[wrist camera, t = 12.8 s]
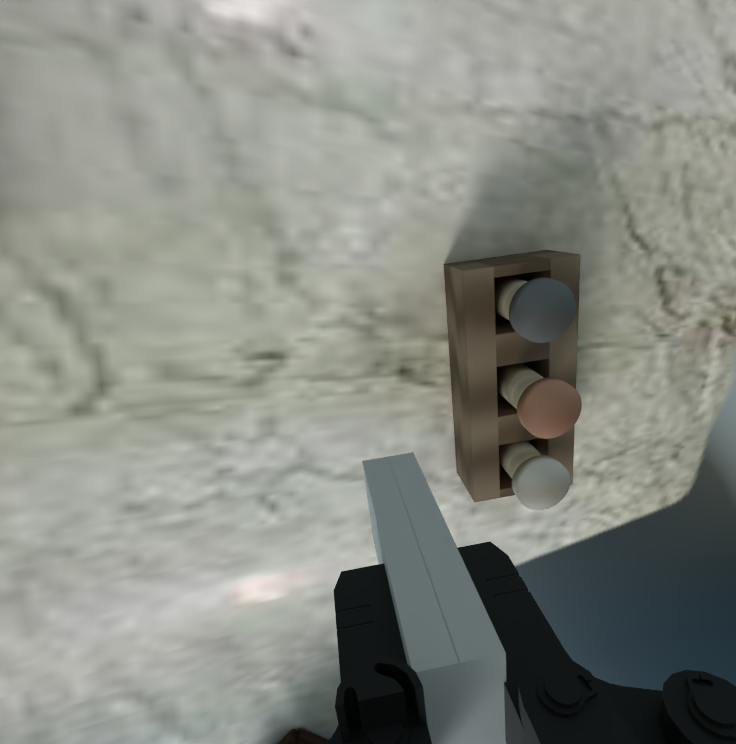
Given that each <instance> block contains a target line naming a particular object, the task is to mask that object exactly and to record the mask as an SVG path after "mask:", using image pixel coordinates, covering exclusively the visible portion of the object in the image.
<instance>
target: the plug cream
mask: <svg viewBox="0 0 736 744" xmlns="http://www.w3.org/2000/svg"><path fill="white" fill-rule="evenodd" d="M499 463H500V464H501V466H502V467H503V468H504V469H505V471H506V472H507V473H508V474H509V476H510V477H511V478H512V489H513V492H514V494H515V495H516V496H517V498H518V499H519V500H520V502H521V503H522V504H523V505H524V506H526V507H527V508H530V509H533V510H544V509H548V508H550V507H552V506H554V505H556V504H557V503H559V502H560V501H561V500H562V499H563V498H564V497H565V495H566V494H567V492H568V490H569V487H570V475H569V472H568V470H567V469H566V468H565V467H564V466H563V465H562V464H561V463H560V462H559V461H558V460H557V459H555V458H554V457H551V456H548V455H541V454H540V453H539V452H538V451H537V450H536V449H535V448H534V447H533V446H532V445H531V444H530V443H529V442H528V441H527V440H526V441H520V442H514V443H509V444H503V445H499Z"/></svg>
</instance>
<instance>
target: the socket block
mask: <svg viewBox="0 0 736 744" xmlns="http://www.w3.org/2000/svg"><path fill="white" fill-rule="evenodd" d="M444 274H445V290H446V306H447V322H448V338H449V354H450V370H451V386H452V402H453V418H454V434H455V450H456V466H457V473H458V475H459V477H460V478H461V480H462V482H463V483H464V485H465V487H466V489H467V490H468V492H469V494H470V495H471V497H472V499H473V500H474V502H479V501H485V500H490V499H495V498H501V497H506V496H512V495H515V494H514V492H513V489H512V478H511V477H510V476H509V474H508V473H507V472H506V471H505V469H504V468H503V467H502V466H501V464H500V463H499V445H503V444H509V443H514V442H520V441H526V440H527V441H528V442H529V443H530V444H531V445H532V446H533V447H534V448H535V449H536V450H537V451H538V452H539V453H540V454H541V455H548V456H551V457H554V458H555V459H557V460H558V461H559V462H560V463H561V464H562V465H563V466H564V467H565V468H566V469H567V470H568V472H569V475H570V485H571V484H572V483H573V454H574V425H573V427H572V428H571V429H570V430H568V431H567V432H566V433H564V434H562V435H560V436H558V437H555V438H550V439H543V438H539V437H536V436H534V435H532V434H531V433H530V432H529V431H528V430H527V429H526V428H525V427H524V426H523V425H522V424H521V423H520V421H519V419H518V416H517V409H516V408H515V407H514V406H513V405H512V404H510V403H509V402H508V401H507V400H506V399H505V398H504V397H503V396H502V395H500V394H499V393H498V392H497V367H499V366H505V365H511V364H518V363H523V364H524V365H526V366H527V367H529V368H530V369H532V370H533V371H535V372H536V373H538V374H539V375H541V376H542V377H544V378H547V377H554V378H558V379H561V380H563V381H565V382H566V383H568V384H569V385H571V386H572V387H574V388H575V389H576V366H577V337H578V307H579V278H580V255H579V254H572V253H565V252H557V251H550V250H544V251H537V252H529V253H522V254H515V255H508V256H501V257H493V258H486V259H479V260H472V261H464V262H457V263H450V264H444ZM517 274H521V280H524V281H530V280H533V279H536V278H549V279H554V280H558V281H560V282H562V283H564V284H565V285H567V286H568V287H569V288H570V290H571V291H572V293H573V295H574V298H575V302H576V310H575V316H574V318H573V321H572V323H571V325H570V326H569V328H568V329H567V330H566V331H565V332H564V333H563V334H562V335H561V336H560V337H558V338H557V339H554V340H552V341H550V342H545V343H536V342H532V341H530V340H528V339H526V338H524V337H522V336H520V335H519V334H518V333H517V332H516V331H515V330H514V329H513V327H512V326H511V323H510V320H508V319H506V318H504V317H498V318H495V293H494V278H496V277H503V276H510V275H517Z"/></svg>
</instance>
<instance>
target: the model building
mask: <svg viewBox="0 0 736 744" xmlns="http://www.w3.org/2000/svg"><path fill="white" fill-rule="evenodd" d="M328 742H329V741H328V740H326V739H323V738H321V737H319V736H317V735H314V734H312V733H310V732H308V731H305V730H303V729H301V728H299V729H298V730H297V731H296V730H294V729H293V730H292V731H291V732H290V733H289V734H288V735H287V736H286V737H285V738H284V739H283V740H282V741H281V742H280V743H279V744H327V743H328Z"/></svg>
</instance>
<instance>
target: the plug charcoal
mask: <svg viewBox="0 0 736 744" xmlns="http://www.w3.org/2000/svg"><path fill="white" fill-rule="evenodd" d="M494 293H495V313H496V314H498V315H500V316H502V317H504V318H506V319H508V320H510V323H511V326H512V327H513V329H514V330H515V331H516V332H517V333H518V334H519V335H520V336H522V337H524V338H526V339H528V340H530V341H532V342H536V343H545V342H550V341H552V340H554V339H557V338H558V337H560V336H561V335H562V334H563V333H564V332H565V331H566V330H567V329H568V328H569V326H570V325H571V323H572V321H573V318H574V316H575V310H576V302H575V298H574V295H573V293H572V291H571V290H570V288H569V287H568V286H567V285H565V284H564V283H562V282H560V281H558V280H554V279H549V278H536V279H533V280H530V281H524V280H521V279H517V278H514V277H511V276H503V277H496V278H494Z"/></svg>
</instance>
